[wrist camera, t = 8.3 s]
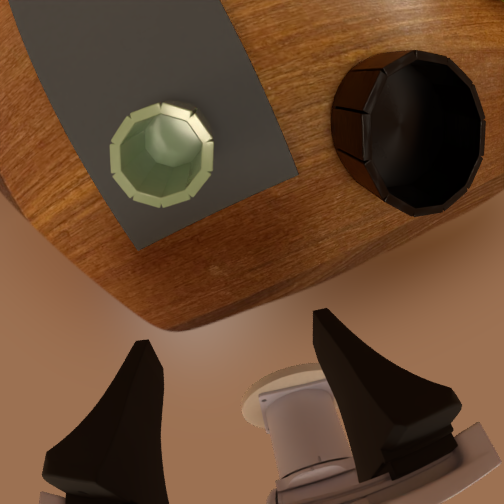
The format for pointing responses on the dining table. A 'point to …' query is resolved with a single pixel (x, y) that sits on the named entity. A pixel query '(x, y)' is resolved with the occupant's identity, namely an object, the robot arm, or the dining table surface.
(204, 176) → the small pot
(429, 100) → the large pot
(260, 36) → the dining table surface
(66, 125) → the mat
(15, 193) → the dining table surface
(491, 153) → the dining table surface
